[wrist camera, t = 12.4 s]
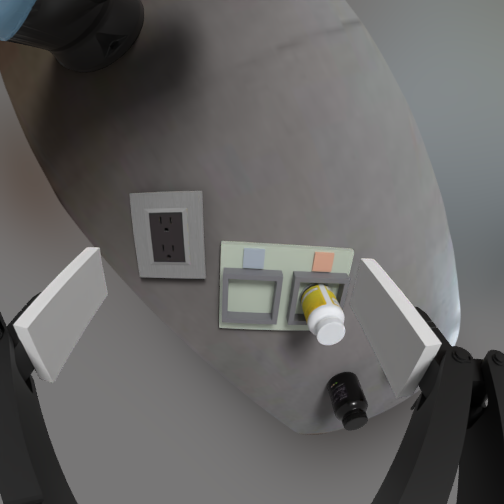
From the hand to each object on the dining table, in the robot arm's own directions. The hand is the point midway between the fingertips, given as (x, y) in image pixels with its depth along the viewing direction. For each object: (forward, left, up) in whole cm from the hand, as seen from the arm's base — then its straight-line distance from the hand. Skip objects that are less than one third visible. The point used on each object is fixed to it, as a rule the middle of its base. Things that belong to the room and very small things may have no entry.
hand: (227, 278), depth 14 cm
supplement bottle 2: (+39, +24, -28) cm, 54 cm away
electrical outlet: (+8, -10, -28) cm, 31 cm away
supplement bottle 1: (+17, +13, -27) cm, 34 cm away
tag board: (+16, +8, -28) cm, 33 cm away
